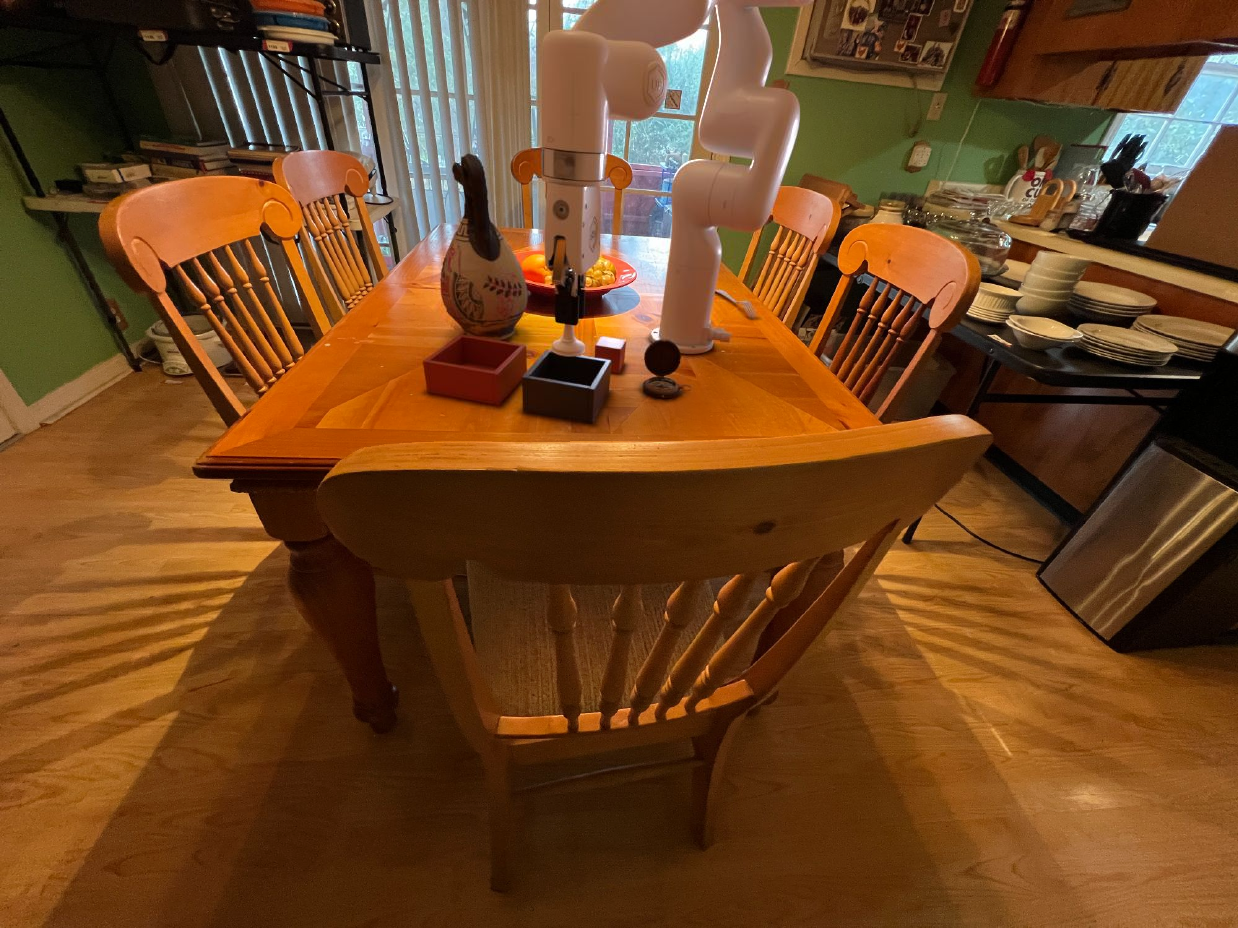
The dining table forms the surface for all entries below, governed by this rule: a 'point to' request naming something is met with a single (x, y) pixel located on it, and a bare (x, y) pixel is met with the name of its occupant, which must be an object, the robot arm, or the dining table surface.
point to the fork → (739, 302)
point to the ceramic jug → (481, 265)
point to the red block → (611, 352)
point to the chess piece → (568, 343)
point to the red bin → (476, 369)
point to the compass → (662, 369)
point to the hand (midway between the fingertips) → (569, 319)
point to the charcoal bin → (566, 386)
